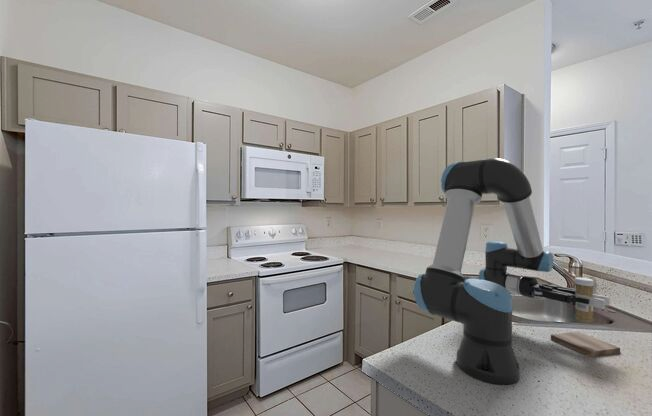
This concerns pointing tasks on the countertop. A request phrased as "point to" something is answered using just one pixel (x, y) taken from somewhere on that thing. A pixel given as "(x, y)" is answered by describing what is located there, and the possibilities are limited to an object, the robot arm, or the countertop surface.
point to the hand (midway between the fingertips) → (606, 303)
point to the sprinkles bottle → (585, 289)
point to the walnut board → (585, 344)
